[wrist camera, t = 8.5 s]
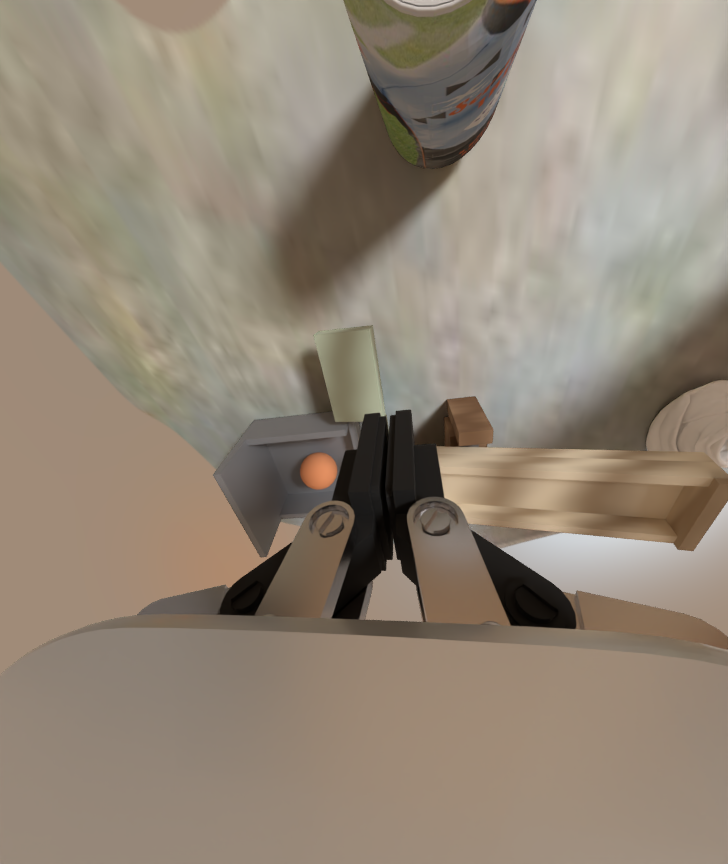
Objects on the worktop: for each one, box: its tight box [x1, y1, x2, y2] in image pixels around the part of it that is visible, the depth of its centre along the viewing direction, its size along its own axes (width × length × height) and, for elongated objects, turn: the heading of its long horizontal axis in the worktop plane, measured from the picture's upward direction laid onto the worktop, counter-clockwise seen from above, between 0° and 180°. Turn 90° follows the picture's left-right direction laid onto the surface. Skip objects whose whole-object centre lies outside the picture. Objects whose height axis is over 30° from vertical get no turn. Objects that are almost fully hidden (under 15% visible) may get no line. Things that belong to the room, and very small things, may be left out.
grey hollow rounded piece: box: [646, 380, 728, 468], centre depth 24 cm, size 8×7×5 cm
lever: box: [313, 325, 728, 551], centre depth 21 cm, size 24×17×4 cm
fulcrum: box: [444, 396, 493, 524], centre depth 26 cm, size 3×10×5 cm, turn 9°
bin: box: [213, 411, 361, 557], centre depth 27 cm, size 10×10×8 cm
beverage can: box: [344, 0, 537, 169], centre depth 11 cm, size 6×7×12 cm
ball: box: [300, 452, 337, 490], centre depth 29 cm, size 4×4×4 cm
